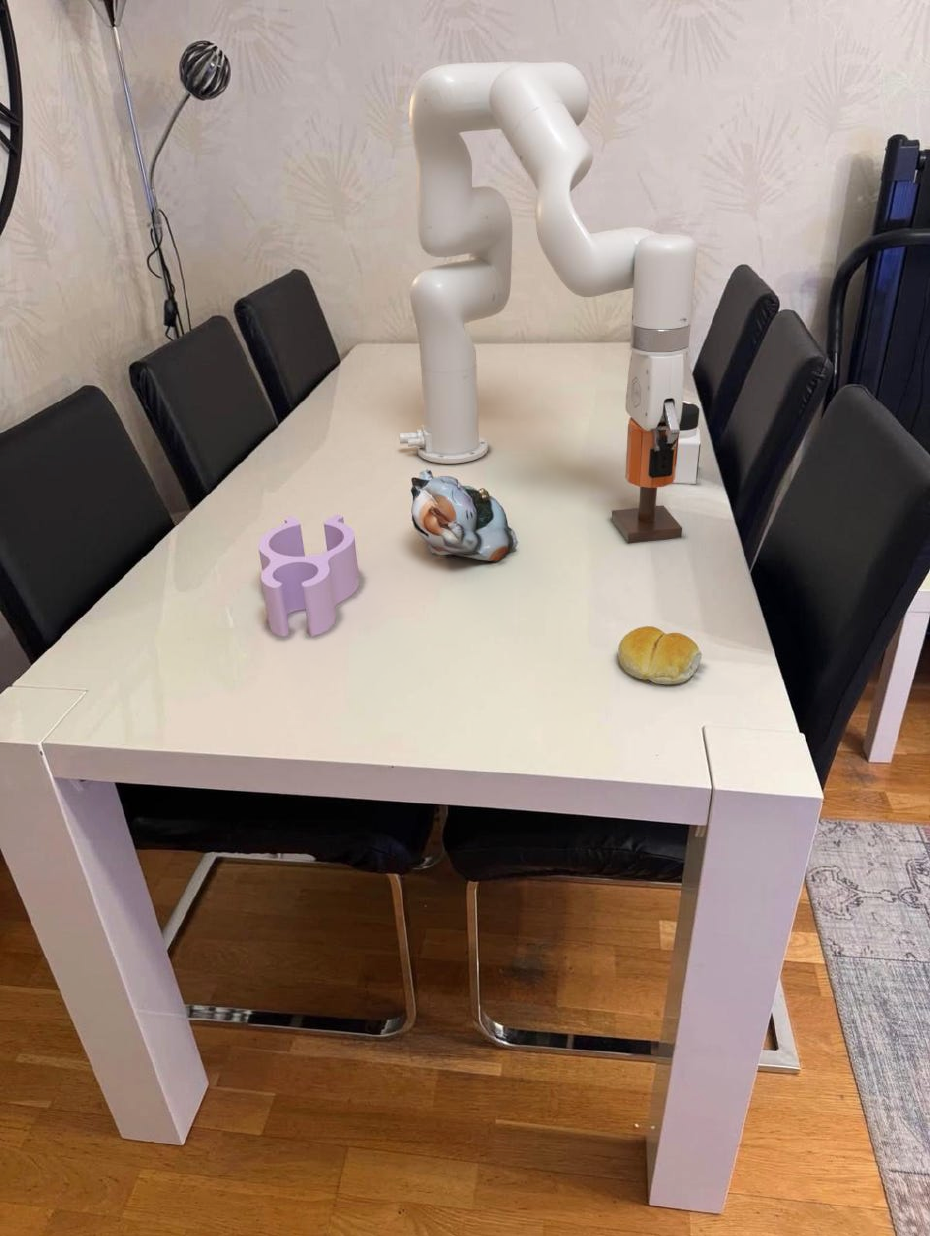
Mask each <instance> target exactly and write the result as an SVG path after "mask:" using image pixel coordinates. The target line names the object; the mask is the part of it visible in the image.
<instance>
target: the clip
mask: <svg viewBox="0 0 930 1236" xmlns="http://www.w3.org/2000/svg"><path fill="white" fill-rule="evenodd" d="M323 528H324V536H325V543H326V544H325V545H326V551H325V552H321V553H318V554H314V555H307V556H306V553H305V545H304V539H303V532H302V527H301V521H300V520H299V519H298V518H297V517H295V516H293V515H292V516H291V515H290V516H286V517H285V518H284V523H283V524H280V525H277V526H275V527H273V528H272V529H270V530H267V531H266V532H265V533H264V534H263V535H262V536H261V537H260V539H258V542H257V548H258V553H259V554H258V555H259V560H260V565H261V570H262V572H261V574H260V581H261V586H262V591H263V592H262V593H263V597H264V603H265V604H264V605H265V609H266V614H267V620H268V624H269V625H268V627H269V629H270V631H271V632H272V633H273V634H274V635H276V636H279V637H281V638H285V637H288V636H289V635H290V632H291V631H290V627H289V620H288V615H289V614H292V613H295V612H298V611H305V614H306V621H307V628H308V629H307V630H308V634H309V636H311V637H315V636H319V635H322V634H323V633H325V632H327V631H329V629H331V628H332V627H333V626H334V624H336V620H337V613H336V606H338V605H339V604H340V603H342V602H344V601H345V600H347V599H349V598H350V597H352V596H353V595H354V594H355V593H356V592H357V590H358V589H359V586H360V574H359V573H360V572H359V565H358V555H357V547H356V538H355V537H356V536H355V532H354V530H353V529H352V527H350V526H349V525H347V524H346V523H344V515H341V514H335V515H333V516H331V517H329V518H327V519H326V520H325V521H323Z"/></svg>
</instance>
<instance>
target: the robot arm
mask: <svg viewBox="0 0 930 1236" xmlns="http://www.w3.org/2000/svg"><path fill="white" fill-rule="evenodd" d="M590 98H591V97H590V89H589V85H588V83H587V81H586V79H585V77H584V75H583V74H582V72H581V71H580V70H579V69H578V68H577V67H576V66H574V65H573V64H571V63H568V62H567V61H545V62H535V61H534V62H528V61H489V62H456V63H447V64H442V65H439V66H435V67H433V68H431V69H428V70H427V71H425V72H424V73H422V75H420V77H419V78H418V79H417V81H416V83H415V84H414V86H413V88H412V91H411V95H410V99H409V100H410V101H409V107H408V114H409V116H408V118H409V126H410V127H409V128H410V133H411V138H412V143H413V148H414V154H415V163H416V166H415V167H416V205H417V207H416V208H417V210H416V211H417V233H418V239H419V243H420V245H421V248H422V250H423V251H424V252H425V253H426V254H427V255H429V256H431V257H434V258H435V257H436V258H449V257H455V256H456V257H457V256H462V255H468V259H467V260H462V261H455V262H449V263H443V264H439V265H434V266H431V267H429V268H427V269H424V270H423V271H421V272H420V273H419V274H418V275H417V276H416V277H415V278H414V280H413V281H412V283H411V286H410V290H409V300H410V306H411V311H412V314H413V319H414V322H415V326H416V331H417V337H418V346H419V347H418V349H419V357H420V358H419V359H420V360H419V361H420V368H421V369H420V372H421V373H420V374H421V387H422V404H423V417H424V418H423V420H424V423H423V424H421V429H416V432H415V431H414V432H409V431H408V432H399V433H398V436H399V444H400V445H404V444H405V445H406V444H407V447H408V448H409V447H417V454H418V456H419V457H420V458H421V459H423V460H424V461H427V462H431V463H434V464H443V465H444V464H445V465H446V464H447V465H453V464H455V465H456V464H464V463H468V462H473V461H476V460H478V459H481V458H483V457H484V456H485V455H487V453H488V451H489V444H488V442H487V440H485V439H484V438H482V437H480V433H479V432H480V431H479V430H480V429H479V401H478V400H479V399H478V366H477V351H476V347H475V344H474V342H473V340H472V338H471V337H470V335H469V333H468V332H467V330H466V328H465V324H468V323H470V322H474V321H478V320H483V319H487V318H489V317H494V316H495V315H498V314H500V313H502V311H503V310H504V309H505V308H506V307H507V304H508V302H509V299H510V294H511V286H512V285H511V284H512V263H513V262H512V257H513V218H512V212H511V210H510V206H509V203H508V202H507V199H506V198H505V196H504V195H503V193H502V192H500V191H499V190H498V189H496V188H494V187H491V186H486V185H485V186H484V185H480V186H473V161H472V156H471V153H470V151H469V148H468V145H467V144H466V142H465V140H464V138H463V137H462V135H461V133H466V132H476V131H477V132H478V131H479V132H480V131H489V130H501V132H502V134H503V135H504V137H505V139H506V141H507V142H508V144H509V146H510V147H511V148H512V150H513V152H514V154H515V156H516V157H517V159H518V160H519V162H520V163H521V165H522V167H523V169H524V171H525V172H526V174H527V175H528V177H529V178H530V180H531V182H532V183H533V185H534V187H535V189H536V191H537V194H536V195H537V196H536V200H535V208H534V214H535V215H534V217H535V228H536V234H537V239H538V243H539V245H540V248H541V250H542V252H543V254H544V256H545V258H546V259H547V261H548V262H549V265H550V266H551V268H552V269H553V271H554V273H555V274H556V275H557V278H558V279H559V280H560V281H561V283H562V284H563V286H564V287H566V288H567V290H569V291H570V292H572V293H573V294H574V295H576V296H578V297H581V298H594V297H598V296H603V295H607V294H611V293H614V292H620V291H626V290H630V289H632V305H631V306H632V307H631V326H630V345H629V350H630V351H631V353H630V358H629V365H628V373H627V383H626V392H625V393H626V394H625V403H624V405H625V407H624V409H625V411H626V413H627V415H628V416H630V418H631V417H632V418H633V419H634V420H635V421H636V422H637V423H638V424H639V425H640V426H641V427H642V428H643V429H644V430H646V431H650V430H651V429H652V441H653V449H650V460H649V476H650V477H651V478H656V477H666V476H671V475H672V469H673V457H674V449H675V443H676V441H677V437H678V435H679V433H680V429H679V425H680V421H681V415H682V406H683V401H684V386H685V385H684V384H685V382H684V381H685V379H684V378H685V358H684V357H685V355H684V354H685V353H687V352H688V351H689V345H690V333H691V323H692V311H693V300H694V287H695V275H696V264H697V248H698V247H697V244H696V241H695V240H694V239H693V238H692V237H690V236H687V235H685V234H678V233H677V234H676V233H659V232H657V231H653V230H651V229H647V228H644V227H642V226H641V227H640V226H628V227H621V228H616V229H610V230H603V231H599V232H594V233H589V231H588V229H587V228H586V226H585V225H584V223H583V221H582V220H581V217H579V215H578V212H577V211H576V210H575V207H574V204H573V202H572V196H571V192H572V191H573V190H574V189H575V188H576V187H577V186H578V185H579V184H580V183H581V182H582V181H583V180H584V178H585V177H586V175H587V174H588V173H589V171H590V170H591V167H592V166H593V160H594V155H593V154H594V153H593V149H592V147H591V146H590V144H589V142H588V141H587V140H586V137H585V136H584V134H583V133H582V131H581V129H580V128H579V126H580V125H581V124H582V123H583V121H584V120H585V118H586V117H587V114H588V112H589V108H590ZM660 422H665V424H666V426H658V427H657V425H658V423H660ZM659 431H666V432H665V433H666V434H665V435H662V437H661V438H660V440H659V433H658V432H659Z"/></svg>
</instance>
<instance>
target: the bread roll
mask: <svg viewBox="0 0 930 1236" xmlns="http://www.w3.org/2000/svg"><path fill="white" fill-rule="evenodd" d="M617 650H618V660H619V664H620V666H621V667H622V668H623V670H624V671H625V672H626V673H628V674H629V675H630V676H632V677H633V678H636V679H639V680H649V681H651V682H652V683H654V684H659V685H675V684H682V683H684V682H687V681H688V680H690V678H692V676H694V674H695V673H696V671H697V669H698V668H699V666H700V664H701V660H702V655H703V653H702V652H701V651H700V649H699V646H698V644H697V643H696V642H695V641H694V640H692V639H691V638H690V637H689V636H687V635H685V634H683V633H680V632H669V633H665V632H664V631H663V630H661V629H660V628H657V627H655V626H652V625H651V626H650V625H649V626H647V625H646V626H641V627H637V628H635V629H633V630H631V631H629V632H628V633H627V634H626V635H625V634H624V636H623V637H622V639H621V640H620V642H619V644H618V649H617Z"/></svg>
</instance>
